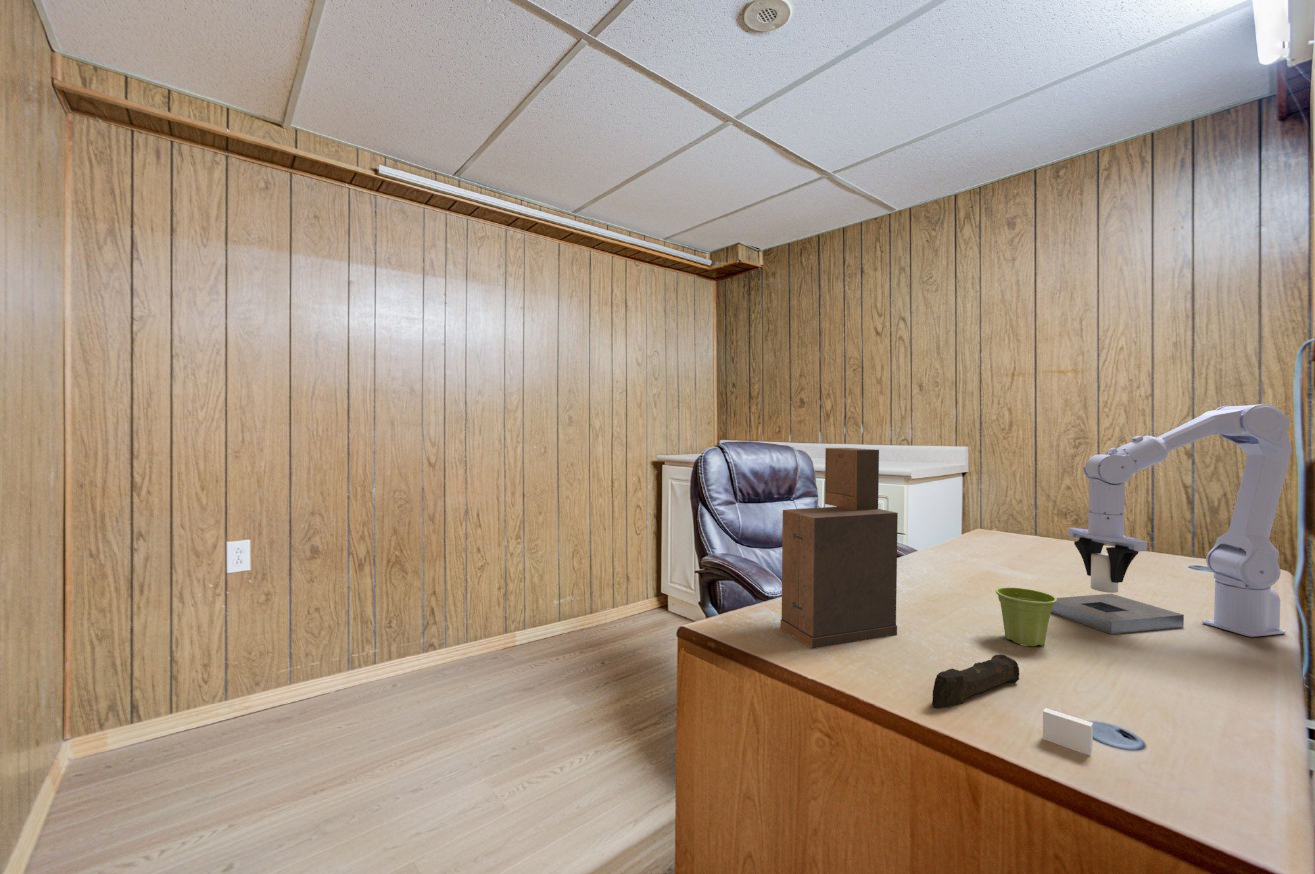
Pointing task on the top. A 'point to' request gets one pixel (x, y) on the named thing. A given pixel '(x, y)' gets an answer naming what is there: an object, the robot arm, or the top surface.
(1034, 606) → the plant pot
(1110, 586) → the white rounded cylinder
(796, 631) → the stacked wooden boxes
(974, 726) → the top surface
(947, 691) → the dark brown ridged bar
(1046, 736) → the eraser
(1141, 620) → the plate
